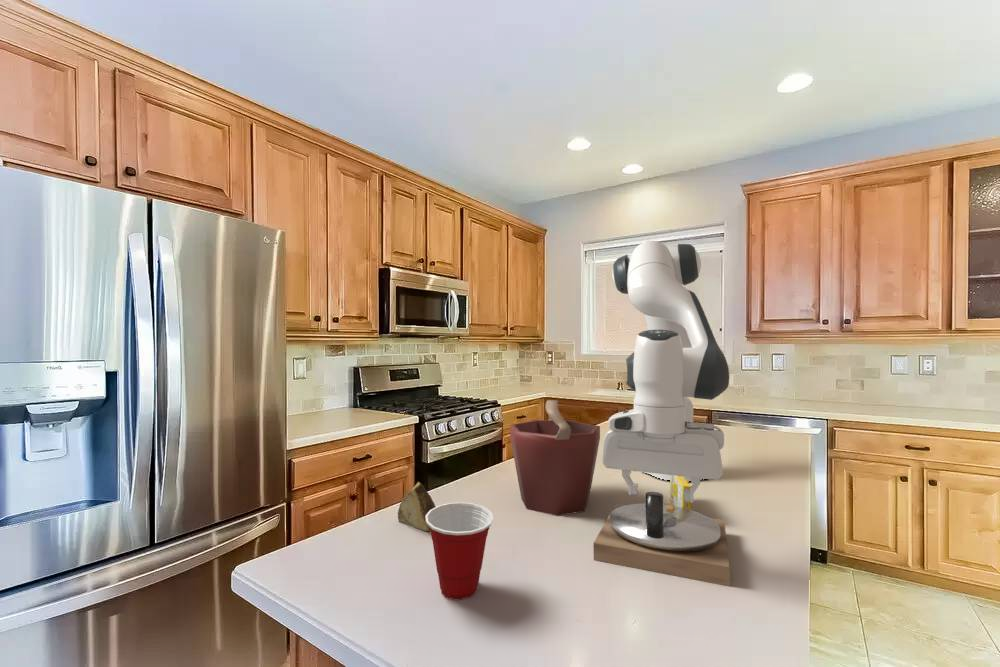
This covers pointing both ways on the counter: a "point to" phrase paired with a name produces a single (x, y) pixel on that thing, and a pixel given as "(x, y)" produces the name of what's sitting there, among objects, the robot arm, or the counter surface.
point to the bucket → (555, 462)
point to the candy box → (679, 491)
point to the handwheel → (664, 525)
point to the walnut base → (666, 556)
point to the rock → (416, 507)
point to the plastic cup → (459, 545)
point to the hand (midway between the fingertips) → (660, 497)
